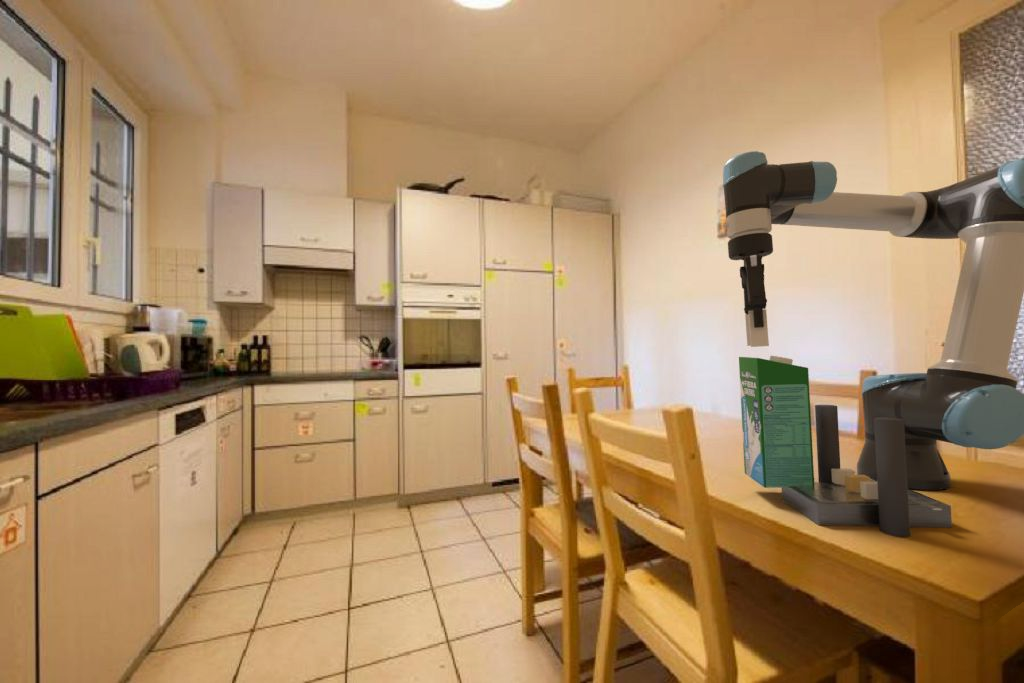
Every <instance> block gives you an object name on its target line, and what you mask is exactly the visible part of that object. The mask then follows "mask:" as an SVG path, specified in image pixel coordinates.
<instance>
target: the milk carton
mask: <svg viewBox="0 0 1024 683" xmlns="http://www.w3.org/2000/svg"><path fill="white" fill-rule="evenodd" d="M738 365H739V367H738V368H739V370H738V371H739V383H740V384H739V390H740V404H741V408H740V410H741V425H742V444H743V445H742V446H743V466H744V467H743V468H744V474H745V475H746V476H748V477H749V478H750V479H751V480H753V481H755V482H756V483H757V484H758V485H760V486H762V487H763V488H764V489H765V488H766V489H767V488H770V489H773V488H775V489H776V488H777V489H779V488H781V489H782V488H788V486H794V485H814V482H815V470H814V455H813V454H814V453H813V432H812V416H811V413H812V412H811V396H810V380H809V379H810V377H809V368H808V367H805V366H801V365H796V364H793V359H792V358H787V357H783V356H777V355H776V356H775V355H770V356H769V359H764V358H759V357H749V356H738Z"/></svg>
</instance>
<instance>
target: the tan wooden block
mask: <svg viewBox="0 0 1024 683" xmlns="http://www.w3.org/2000/svg"><path fill="white" fill-rule="evenodd" d="M860 482H870V477H868V476H866V475H858V474H855V475H845V485H846V489H847V490H849V491H861V489H860Z"/></svg>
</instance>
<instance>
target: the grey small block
mask: <svg viewBox="0 0 1024 683" xmlns="http://www.w3.org/2000/svg"><path fill="white" fill-rule="evenodd" d="M831 472H832V482H833V483H835V484H845V475H856V471H855V470H853V469H851V468H840V469H831Z"/></svg>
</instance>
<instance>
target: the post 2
mask: <svg viewBox="0 0 1024 683" xmlns="http://www.w3.org/2000/svg"><path fill="white" fill-rule="evenodd" d="M874 428H875V447H876V466H877V485H878V504H879V523H880V526H879V531H880V532H881V533H883V534H885V535H888V536H892V537H898V538H909V537H911V527H910V524H909V505H908V489H909V488H908V487H907V468H906V450H905V432H904V420H903V419H898V418H885V417H878V418H874Z"/></svg>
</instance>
